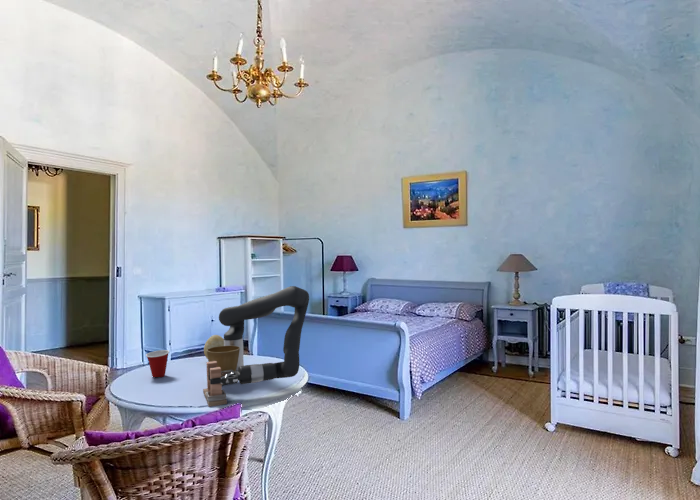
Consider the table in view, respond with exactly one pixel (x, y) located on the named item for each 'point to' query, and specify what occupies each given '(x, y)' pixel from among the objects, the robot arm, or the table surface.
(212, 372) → the tall copper pillar
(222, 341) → the fossilized egg
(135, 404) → the table surface
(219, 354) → the plant pot
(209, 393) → the gravestone
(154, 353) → the plastic cup
